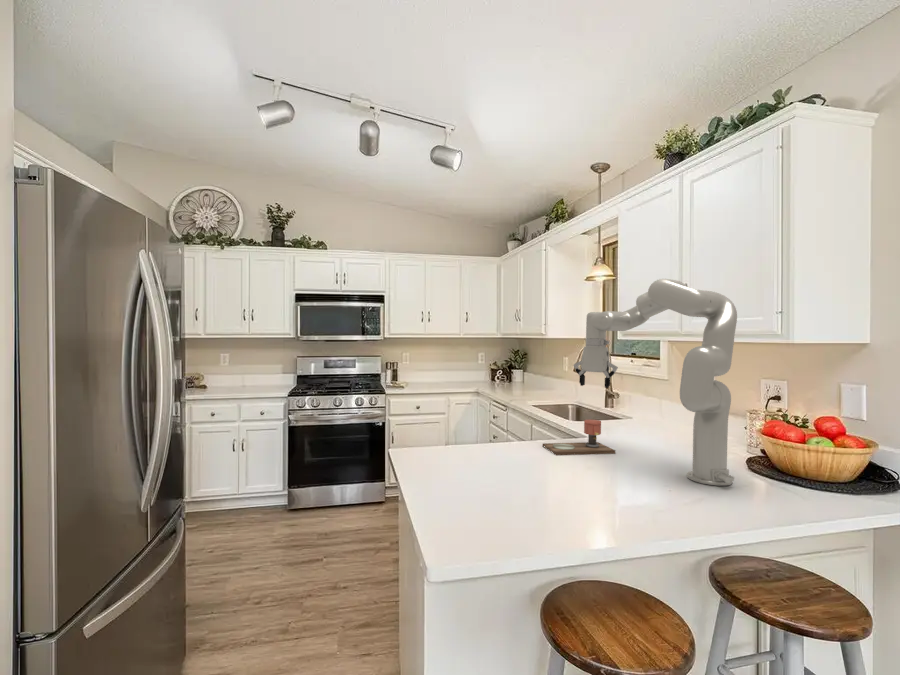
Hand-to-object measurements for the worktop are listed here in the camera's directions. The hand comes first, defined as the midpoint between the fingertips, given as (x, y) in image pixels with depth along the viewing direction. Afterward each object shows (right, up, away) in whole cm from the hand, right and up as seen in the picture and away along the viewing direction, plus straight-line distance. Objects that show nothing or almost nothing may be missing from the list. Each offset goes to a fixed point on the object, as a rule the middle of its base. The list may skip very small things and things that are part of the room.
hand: (594, 386), depth 184 cm
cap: (-1, -19, 0) cm, 19 cm away
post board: (-7, -25, -1) cm, 26 cm away
